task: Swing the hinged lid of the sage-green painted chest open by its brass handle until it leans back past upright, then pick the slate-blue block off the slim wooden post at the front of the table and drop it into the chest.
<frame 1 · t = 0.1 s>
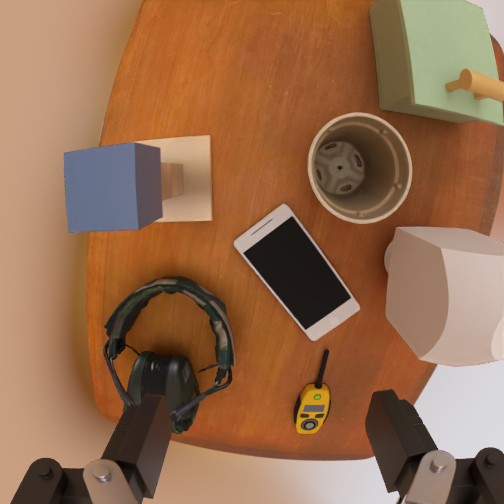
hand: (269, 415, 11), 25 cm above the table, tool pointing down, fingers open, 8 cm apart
block: (129, 184, 21), point 12 cm above the table, touching post
yellow walkie talkie: (314, 390, 40), on the table
headphones: (174, 343, 38), on the table
smartphone: (299, 275, 35), on the table
post: (171, 179, 33), on the table
flower pot: (337, 168, 33), on the table
chest: (417, 64, 29), on the table
lid: (466, 41, 19), point 11 cm above the table, hinge at 0.0°
light fixture: (404, 256, 35), on the table
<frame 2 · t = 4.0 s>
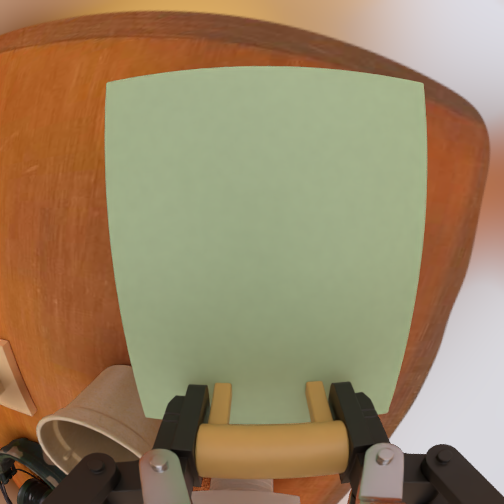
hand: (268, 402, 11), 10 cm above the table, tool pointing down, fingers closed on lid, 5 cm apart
headphones: (51, 475, 29), on the table
flower pot: (133, 391, 23), on the table
lid: (272, 296, 9), point 11 cm above the table, hinge at -0.1°, touching gripper
light fixture: (242, 468, 26), on the table
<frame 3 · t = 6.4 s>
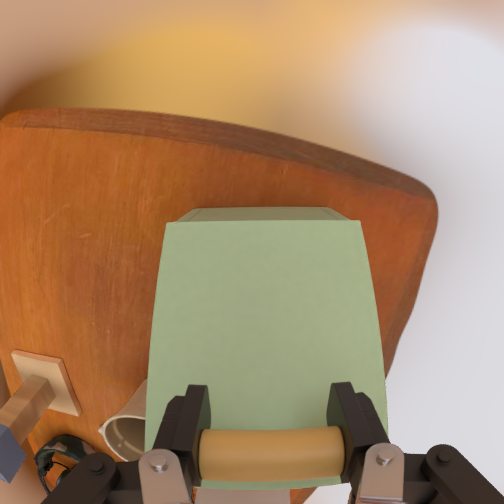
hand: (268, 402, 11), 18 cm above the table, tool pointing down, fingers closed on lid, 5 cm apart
block: (3, 435, 22), point 12 cm above the table, touching post
headphones: (85, 465, 39), on the table
post: (47, 381, 33), on the table
flower pot: (166, 393, 33), on the table
chest: (262, 282, 29), on the table
lid: (268, 335, 13), point 15 cm above the table, hinge at 45.0°, touching gripper
light fixture: (246, 449, 35), on the table
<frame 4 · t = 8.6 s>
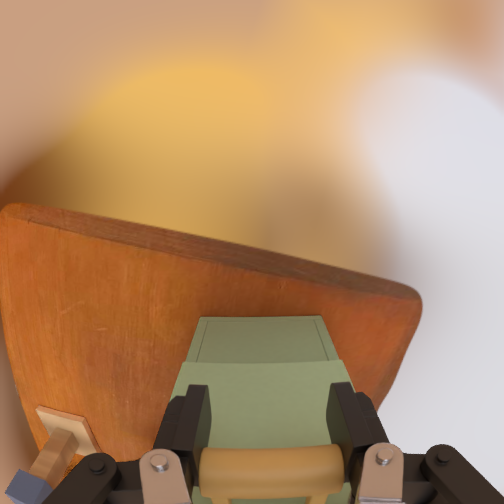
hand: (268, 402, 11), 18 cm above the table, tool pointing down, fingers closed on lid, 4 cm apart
block: (40, 484, 24), point 12 cm above the table, touching post
post: (70, 431, 36), on the table
chest: (260, 373, 32), on the table
lid: (266, 414, 14), point 16 cm above the table, hinge at 90.4°, touching gripper
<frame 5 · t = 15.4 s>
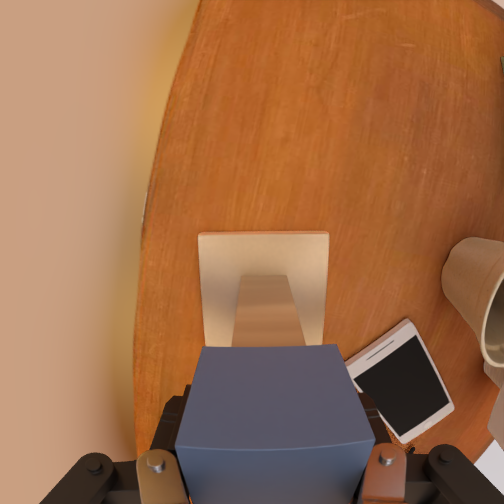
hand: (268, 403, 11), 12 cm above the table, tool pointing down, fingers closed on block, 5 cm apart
block: (269, 396, 12), point 12 cm above the table, touching gripper, post
smartphone: (405, 388, 26), on the table
post: (263, 290, 23), on the table
flower pot: (464, 270, 23), on the table
light fixture: (500, 351, 25), on the table
when the fingers open (7 cm above the table, at t = 24.2 s): block drops 6 cm, resting on chest.
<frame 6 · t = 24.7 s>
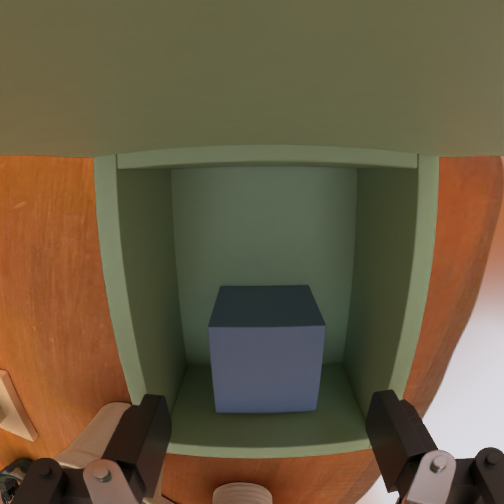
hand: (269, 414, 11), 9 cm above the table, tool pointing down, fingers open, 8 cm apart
block: (264, 324, 18), point 1 cm above the table, touching chest
headphones: (54, 492, 28), on the table
flower pot: (133, 425, 22), on the table
chest: (265, 271, 18), on the table
light fixture: (242, 493, 25), on the table
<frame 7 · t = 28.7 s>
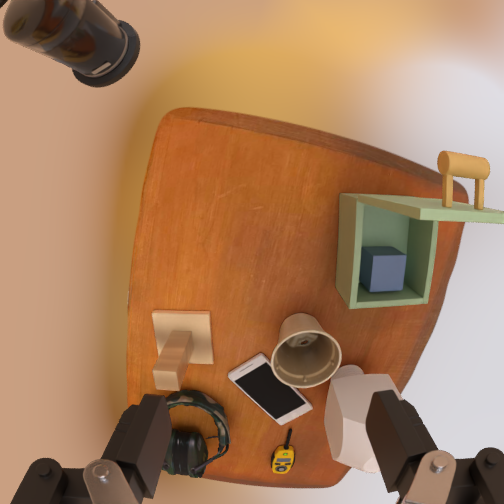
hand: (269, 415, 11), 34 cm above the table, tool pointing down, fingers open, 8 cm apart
block: (375, 263, 44), point 1 cm above the table, touching chest
yellow walkie talkie: (284, 448, 55), on the table
headphones: (190, 422, 53), on the table
smartphone: (272, 390, 50), on the table
post: (184, 335, 48), on the table
flower pot: (299, 330, 48), on the table
chest: (375, 241, 44), on the table
lid: (435, 183, 26), point 16 cm above the table, hinge at 90.9°
light fixture: (346, 376, 50), on the table
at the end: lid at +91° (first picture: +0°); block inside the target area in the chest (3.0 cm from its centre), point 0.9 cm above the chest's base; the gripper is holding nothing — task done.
